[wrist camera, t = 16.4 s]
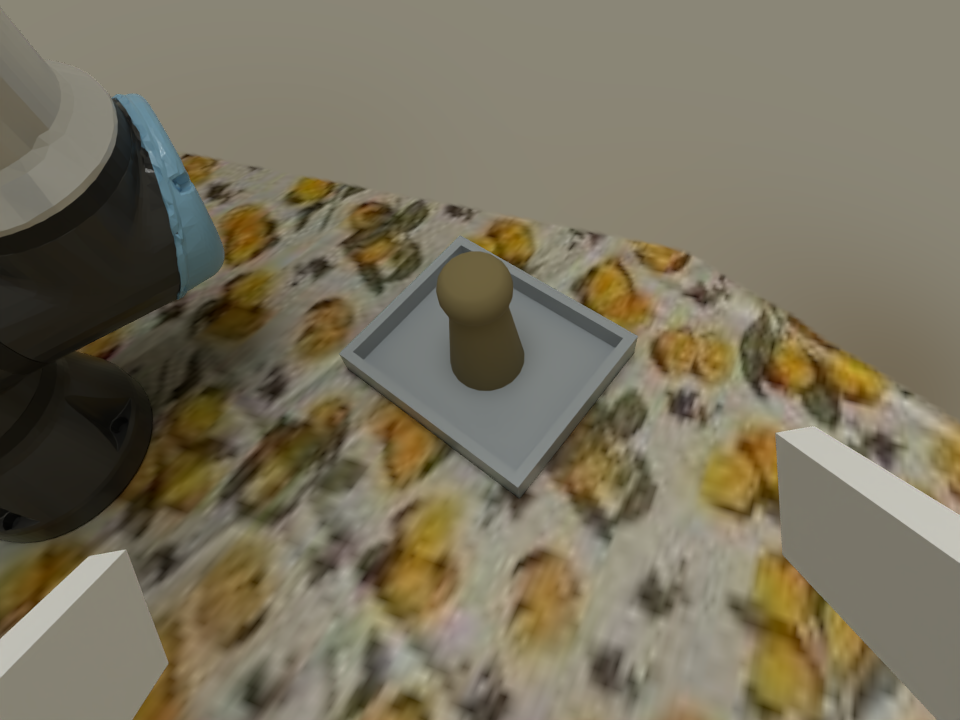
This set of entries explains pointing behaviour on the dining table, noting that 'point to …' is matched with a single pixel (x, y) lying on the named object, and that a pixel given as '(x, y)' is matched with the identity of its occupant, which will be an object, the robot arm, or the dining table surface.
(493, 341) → the cork
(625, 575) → the dining table surface
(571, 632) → the dining table surface
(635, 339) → the tray
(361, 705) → the dining table surface
